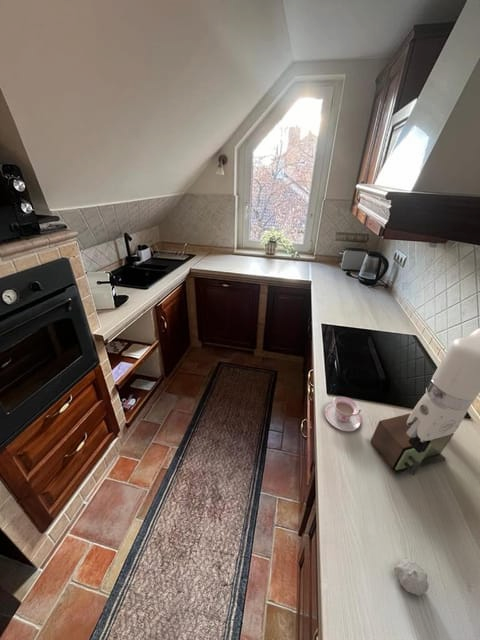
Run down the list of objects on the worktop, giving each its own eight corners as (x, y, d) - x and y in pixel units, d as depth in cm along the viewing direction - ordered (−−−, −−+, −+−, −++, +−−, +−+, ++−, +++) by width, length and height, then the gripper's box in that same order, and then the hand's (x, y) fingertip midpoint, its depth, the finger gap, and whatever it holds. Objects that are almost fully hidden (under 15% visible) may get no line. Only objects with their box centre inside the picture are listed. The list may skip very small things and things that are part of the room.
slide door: (429, 473, 71) (442, 455, 67) (404, 481, 69) (416, 463, 65) (418, 461, 74) (430, 443, 70) (394, 468, 72) (405, 450, 68)
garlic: (397, 595, 51) (406, 586, 48) (387, 560, 56) (395, 550, 53) (429, 602, 50) (440, 593, 48) (417, 566, 55) (426, 556, 52)
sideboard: (445, 459, 76) (460, 438, 71) (396, 475, 72) (408, 454, 67) (415, 429, 85) (426, 409, 80) (370, 441, 81) (379, 420, 76)
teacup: (323, 426, 85) (327, 413, 82) (324, 400, 95) (327, 388, 92) (362, 436, 82) (367, 423, 79) (358, 408, 92) (363, 396, 89)
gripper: (438, 414, 48) (403, 469, 57) (494, 400, 52) (453, 454, 61) (406, 386, 54) (379, 440, 63) (458, 375, 58) (426, 427, 67)
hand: (416, 446), depth 62 cm, fingers closed
